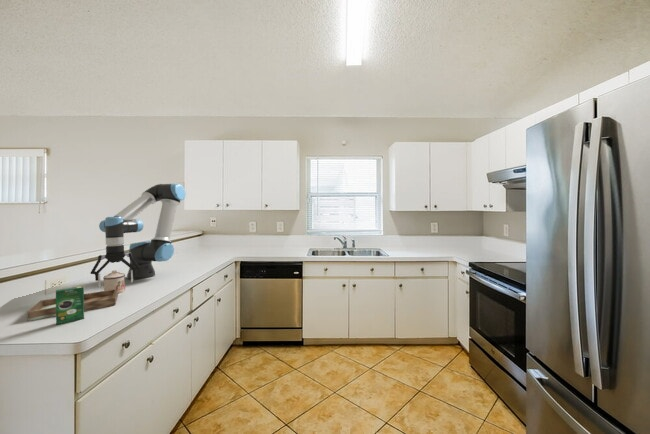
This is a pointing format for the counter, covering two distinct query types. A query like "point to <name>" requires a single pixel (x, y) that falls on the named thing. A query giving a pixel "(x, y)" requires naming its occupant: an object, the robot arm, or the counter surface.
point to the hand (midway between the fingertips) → (116, 284)
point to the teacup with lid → (114, 281)
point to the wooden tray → (90, 302)
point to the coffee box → (69, 304)
